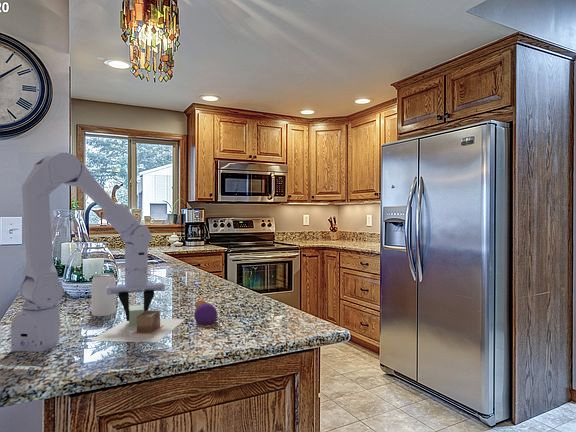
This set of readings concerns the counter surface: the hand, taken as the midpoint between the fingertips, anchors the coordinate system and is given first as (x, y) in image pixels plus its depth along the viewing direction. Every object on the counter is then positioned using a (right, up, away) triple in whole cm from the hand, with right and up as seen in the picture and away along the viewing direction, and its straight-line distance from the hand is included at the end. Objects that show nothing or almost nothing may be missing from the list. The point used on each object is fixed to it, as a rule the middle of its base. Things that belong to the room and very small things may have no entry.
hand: (136, 319), depth 109 cm
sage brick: (0, -1, 0) cm, 1 cm away
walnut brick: (+6, -1, -6) cm, 8 cm away
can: (-13, -2, +10) cm, 17 cm away
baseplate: (+4, -2, -6) cm, 7 cm away
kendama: (+17, -2, +7) cm, 18 cm away
